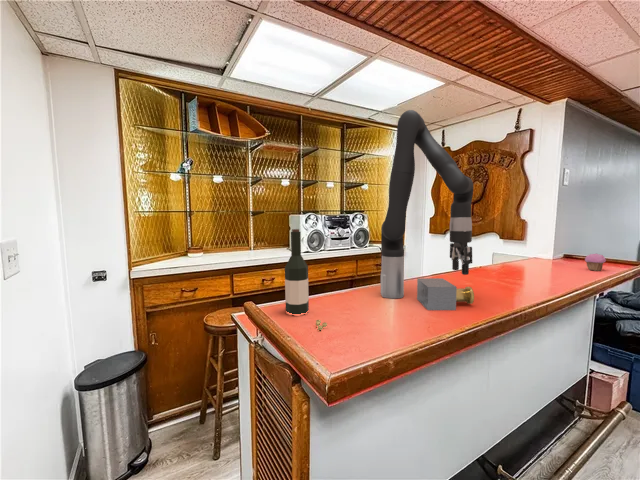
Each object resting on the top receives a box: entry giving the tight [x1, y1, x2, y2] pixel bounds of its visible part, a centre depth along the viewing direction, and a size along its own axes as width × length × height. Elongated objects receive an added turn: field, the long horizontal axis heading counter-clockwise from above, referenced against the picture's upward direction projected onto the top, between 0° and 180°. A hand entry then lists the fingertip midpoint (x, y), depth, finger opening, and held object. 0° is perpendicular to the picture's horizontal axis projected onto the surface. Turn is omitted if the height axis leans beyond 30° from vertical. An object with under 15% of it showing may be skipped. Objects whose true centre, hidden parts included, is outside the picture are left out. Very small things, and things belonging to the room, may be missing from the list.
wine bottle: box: [284, 228, 310, 314], centre depth 105 cm, size 8×8×30 cm
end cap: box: [456, 286, 475, 305], centre depth 113 cm, size 13×6×6 cm, turn 87°
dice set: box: [315, 319, 328, 331], centre depth 92 cm, size 5×5×2 cm
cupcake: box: [584, 253, 607, 272], centre depth 173 cm, size 9×9×10 cm
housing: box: [416, 277, 458, 311], centre depth 114 cm, size 10×14×9 cm
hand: (460, 272), depth 113 cm, fingers open, 8 cm apart
